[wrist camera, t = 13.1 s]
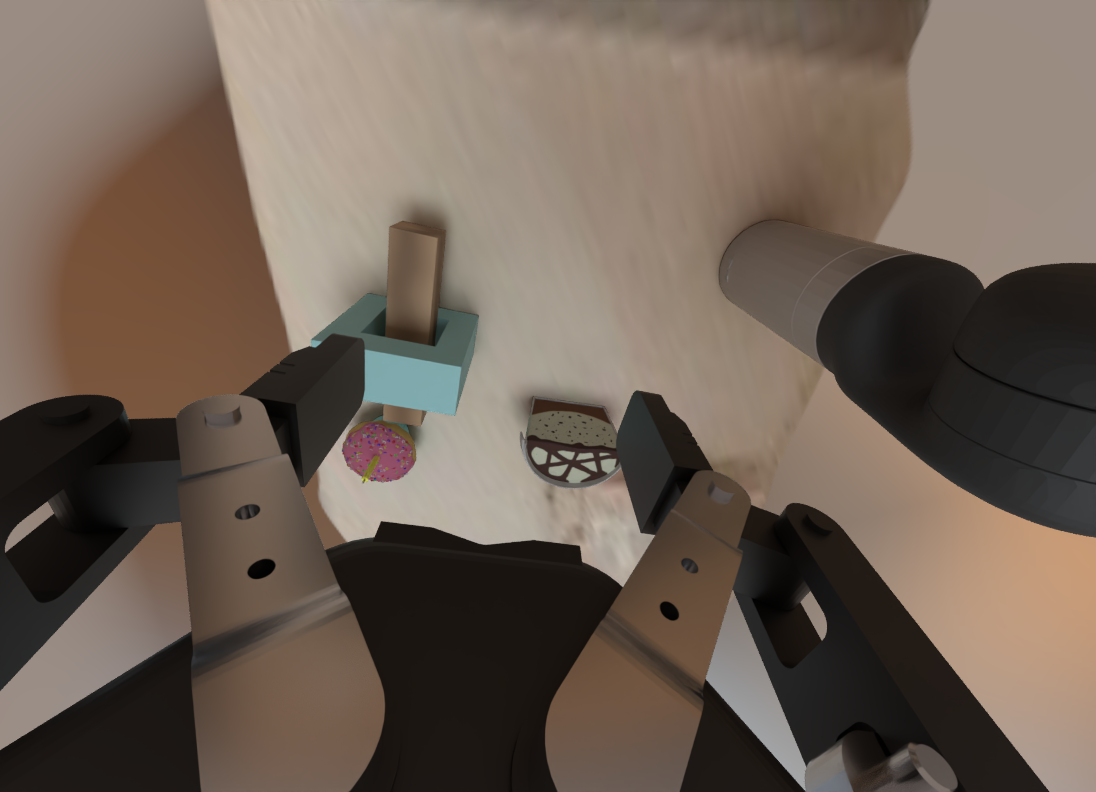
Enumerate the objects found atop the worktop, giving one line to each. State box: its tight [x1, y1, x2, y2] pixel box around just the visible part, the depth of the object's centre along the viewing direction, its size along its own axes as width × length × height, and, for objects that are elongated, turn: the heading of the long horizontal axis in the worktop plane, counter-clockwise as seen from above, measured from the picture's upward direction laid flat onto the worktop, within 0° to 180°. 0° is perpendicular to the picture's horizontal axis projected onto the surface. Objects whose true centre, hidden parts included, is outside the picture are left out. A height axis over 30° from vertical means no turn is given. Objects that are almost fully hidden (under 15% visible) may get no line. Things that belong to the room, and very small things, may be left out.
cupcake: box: [342, 416, 416, 484], centre depth 47 cm, size 9×8×12 cm
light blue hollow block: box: [311, 293, 479, 416], centre depth 40 cm, size 12×5×13 cm, turn 77°
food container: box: [520, 396, 621, 489], centre depth 48 cm, size 12×6×10 cm, turn 80°
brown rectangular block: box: [383, 221, 446, 426], centre depth 40 cm, size 4×20×4 cm, turn 167°
